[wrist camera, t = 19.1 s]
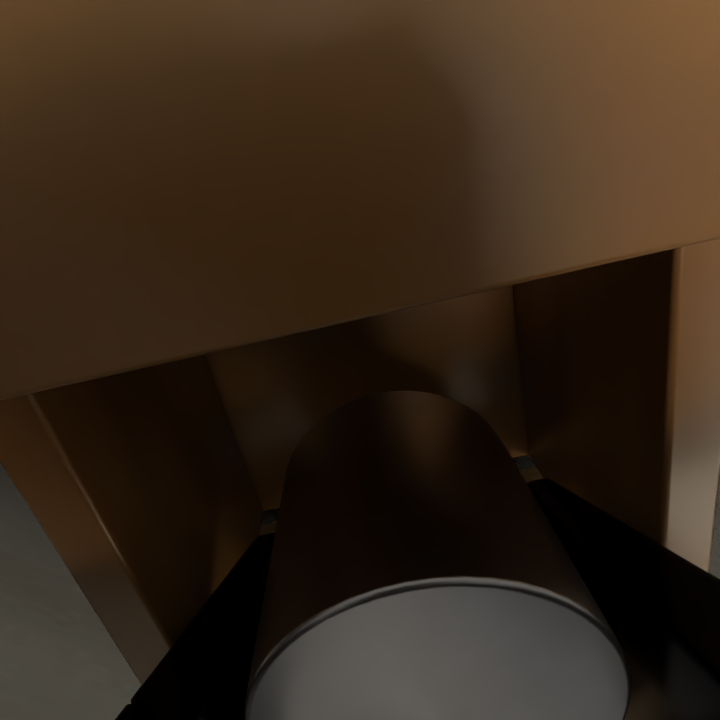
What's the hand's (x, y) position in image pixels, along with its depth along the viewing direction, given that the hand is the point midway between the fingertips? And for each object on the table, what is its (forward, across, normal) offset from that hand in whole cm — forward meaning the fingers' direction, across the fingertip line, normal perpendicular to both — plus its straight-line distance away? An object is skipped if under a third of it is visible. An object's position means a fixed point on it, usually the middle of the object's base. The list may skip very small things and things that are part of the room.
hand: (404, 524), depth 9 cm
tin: (+1, 0, 0) cm, 1 cm away
